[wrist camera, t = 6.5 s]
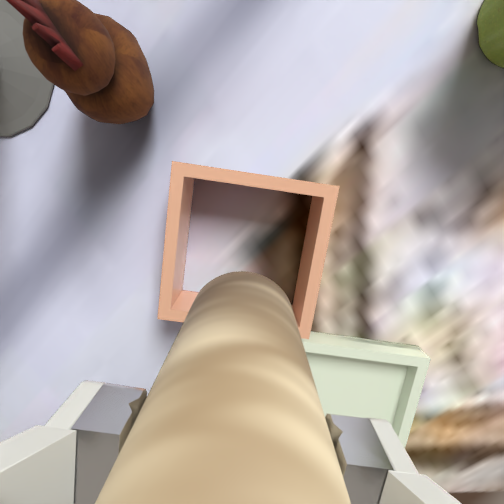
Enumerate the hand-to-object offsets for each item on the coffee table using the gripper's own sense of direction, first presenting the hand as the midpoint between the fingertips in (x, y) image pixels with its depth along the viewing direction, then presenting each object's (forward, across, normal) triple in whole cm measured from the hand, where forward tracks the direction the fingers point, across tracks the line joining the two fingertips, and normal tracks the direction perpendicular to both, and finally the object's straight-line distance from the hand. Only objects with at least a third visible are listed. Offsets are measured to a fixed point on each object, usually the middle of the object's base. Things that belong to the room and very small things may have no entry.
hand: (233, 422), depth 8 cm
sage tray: (+24, -12, +15) cm, 31 cm away
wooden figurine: (+24, +12, -12) cm, 29 cm away
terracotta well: (+24, 0, 0) cm, 24 cm away
